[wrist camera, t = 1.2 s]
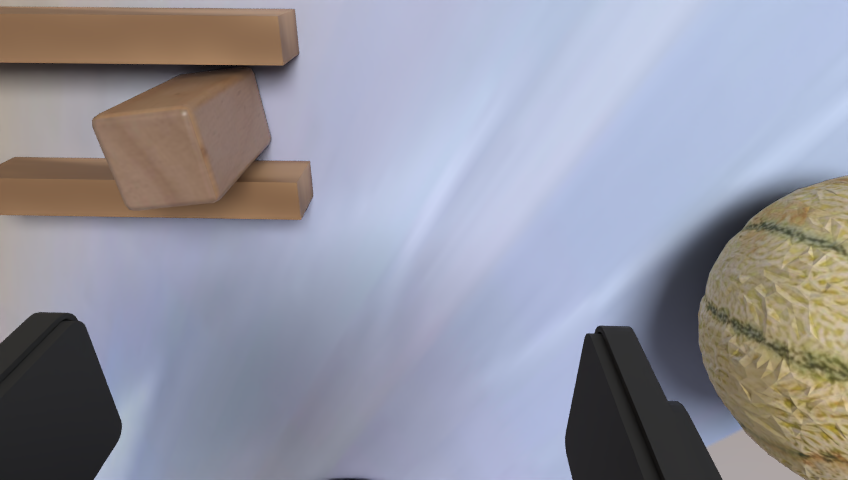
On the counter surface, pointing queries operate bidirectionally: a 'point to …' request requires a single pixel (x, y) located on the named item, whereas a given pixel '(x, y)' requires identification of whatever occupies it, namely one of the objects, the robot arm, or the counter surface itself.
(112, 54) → the pair of wooden bars
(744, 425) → the cantaloupe
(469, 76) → the counter surface
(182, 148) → the wooden block
